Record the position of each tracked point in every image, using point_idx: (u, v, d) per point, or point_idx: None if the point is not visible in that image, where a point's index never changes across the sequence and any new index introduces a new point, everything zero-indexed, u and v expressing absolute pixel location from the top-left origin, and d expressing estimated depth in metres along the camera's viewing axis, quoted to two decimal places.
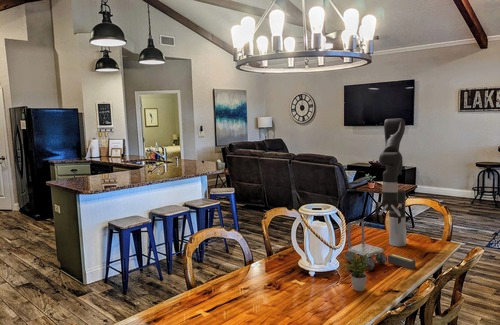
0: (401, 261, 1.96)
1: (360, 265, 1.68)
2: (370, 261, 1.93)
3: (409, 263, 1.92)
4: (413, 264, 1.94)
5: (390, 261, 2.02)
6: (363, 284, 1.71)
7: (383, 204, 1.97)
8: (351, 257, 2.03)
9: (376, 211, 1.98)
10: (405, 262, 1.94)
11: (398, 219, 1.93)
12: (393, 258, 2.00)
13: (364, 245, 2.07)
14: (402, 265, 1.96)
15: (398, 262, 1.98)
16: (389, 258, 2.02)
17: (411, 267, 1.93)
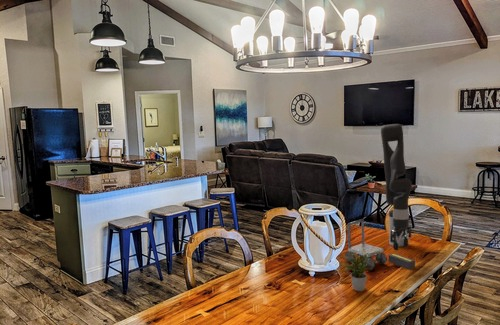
0: (401, 261, 1.96)
1: (360, 265, 1.68)
2: (370, 261, 1.93)
3: (408, 263, 1.92)
4: (413, 265, 1.93)
5: (390, 261, 2.02)
6: (363, 284, 1.71)
7: (399, 231, 1.94)
8: (351, 257, 2.03)
9: (395, 240, 1.93)
10: (404, 262, 1.94)
11: (407, 242, 1.99)
12: (393, 258, 2.00)
13: (364, 245, 2.07)
14: (401, 265, 1.96)
15: (398, 262, 1.98)
16: (389, 258, 2.02)
17: (410, 267, 1.92)
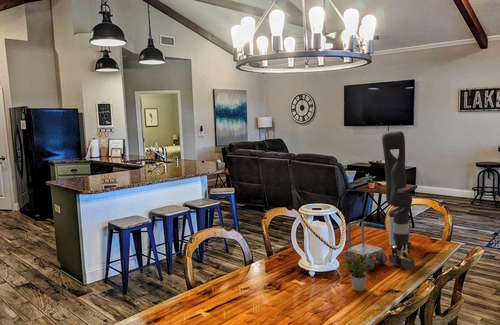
0: (400, 261, 1.96)
1: (360, 265, 1.68)
2: (370, 261, 1.93)
3: (407, 263, 1.92)
4: (412, 264, 1.93)
5: (391, 260, 2.02)
6: (363, 284, 1.71)
7: (399, 247, 1.95)
8: (351, 257, 2.03)
9: (397, 255, 1.94)
10: (403, 262, 1.94)
11: None
12: (393, 257, 2.00)
13: (364, 245, 2.07)
14: (401, 264, 1.96)
15: None
16: (390, 257, 2.03)
17: (409, 267, 1.92)
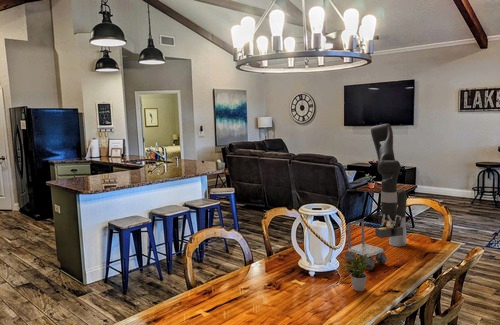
0: None
1: (360, 265, 1.68)
2: (370, 261, 1.93)
3: (402, 229, 1.91)
4: None
5: (383, 235, 1.88)
6: (363, 284, 1.71)
7: None
8: (351, 257, 2.03)
9: None
10: (398, 229, 1.90)
11: None
12: (386, 231, 1.88)
13: (364, 245, 2.07)
14: None
15: (391, 233, 1.89)
16: (382, 232, 1.87)
17: None
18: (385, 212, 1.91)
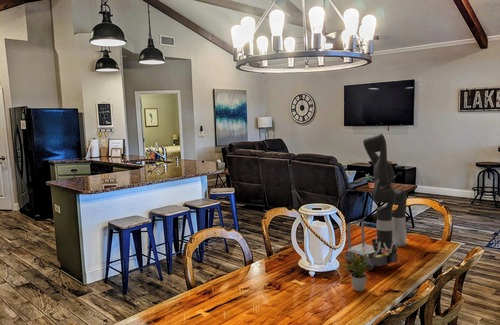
0: None
1: (360, 265, 1.68)
2: (370, 261, 1.93)
3: (396, 255, 1.94)
4: None
5: (380, 263, 1.89)
6: (363, 284, 1.71)
7: None
8: (351, 257, 2.03)
9: None
10: (393, 256, 1.93)
11: None
12: (383, 258, 1.89)
13: (364, 245, 2.07)
14: None
15: None
16: (379, 260, 1.88)
17: None
18: (381, 239, 1.92)
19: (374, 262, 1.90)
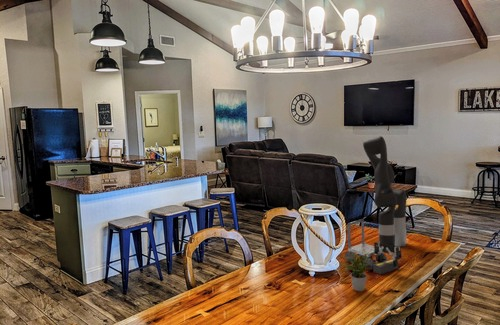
0: (391, 265, 1.92)
1: (360, 265, 1.68)
2: (370, 261, 1.93)
3: None
4: None
5: (382, 271, 1.88)
6: (363, 284, 1.71)
7: None
8: (351, 257, 2.03)
9: None
10: None
11: None
12: (384, 266, 1.89)
13: (364, 245, 2.07)
14: (392, 268, 1.92)
15: (388, 268, 1.91)
16: (381, 269, 1.88)
17: None
18: (383, 244, 1.91)
19: (376, 271, 1.90)
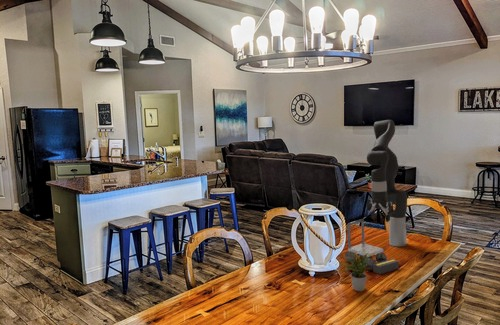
0: (391, 265, 1.91)
1: (360, 265, 1.68)
2: (370, 261, 1.93)
3: (397, 263, 1.93)
4: None
5: (381, 271, 1.89)
6: (363, 284, 1.71)
7: None
8: (351, 257, 2.03)
9: None
10: (394, 264, 1.92)
11: (374, 214, 2.04)
12: (384, 266, 1.89)
13: (364, 245, 2.07)
14: (392, 269, 1.92)
15: (388, 268, 1.91)
16: (380, 269, 1.88)
17: None
18: (376, 201, 1.99)
19: (375, 270, 1.90)
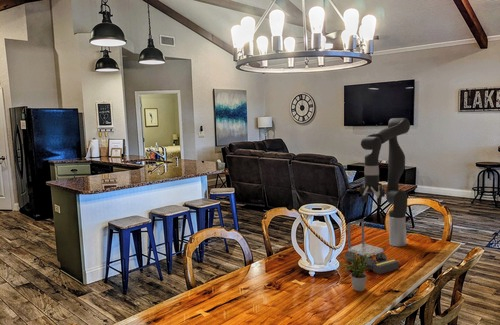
0: (391, 265, 1.91)
1: (360, 265, 1.68)
2: (370, 261, 1.93)
3: (397, 263, 1.93)
4: None
5: (381, 271, 1.89)
6: (363, 284, 1.71)
7: None
8: (351, 257, 2.03)
9: None
10: (394, 264, 1.92)
11: None
12: (384, 266, 1.89)
13: (364, 245, 2.07)
14: (392, 269, 1.92)
15: (388, 268, 1.91)
16: (380, 269, 1.88)
17: None
18: (368, 184, 2.08)
19: (375, 270, 1.90)
